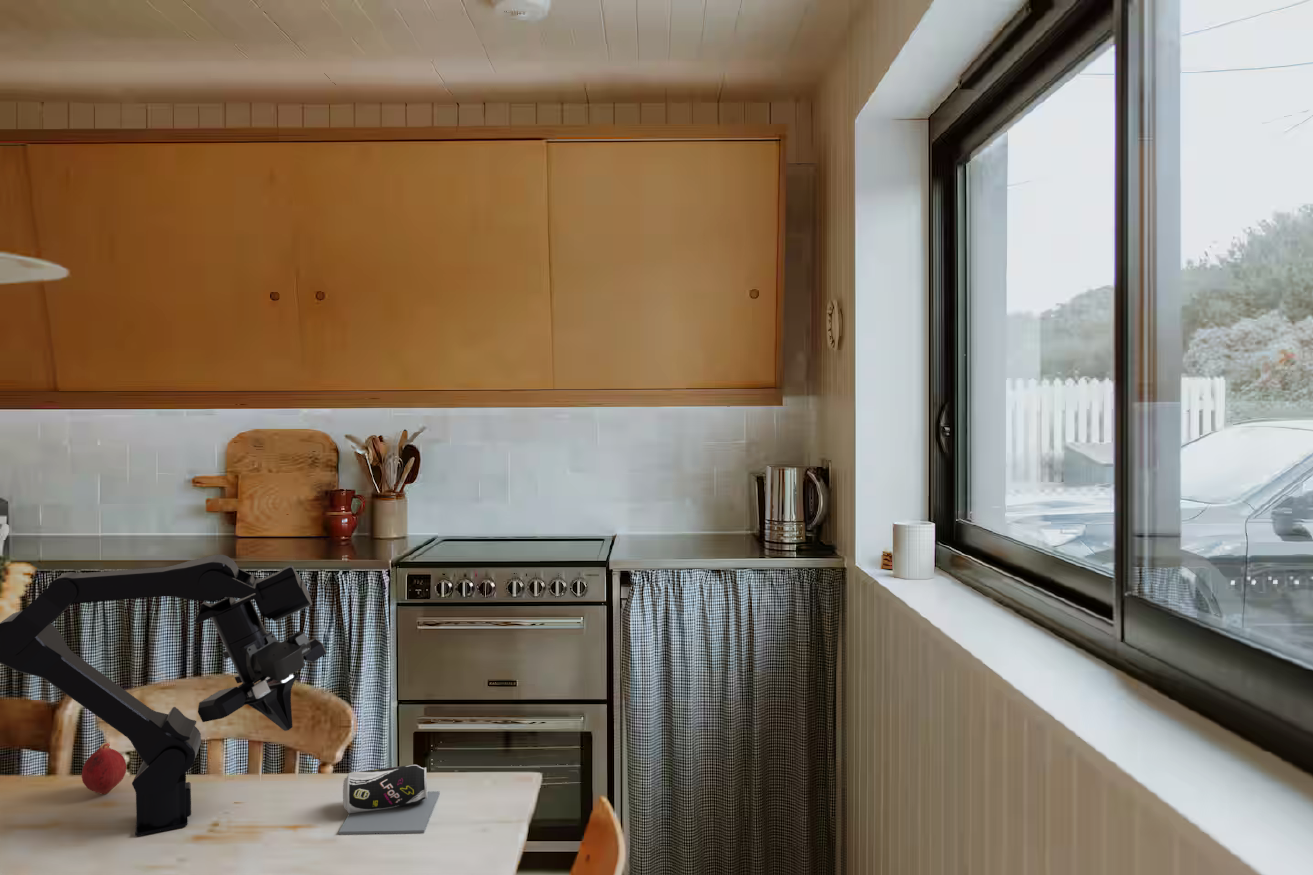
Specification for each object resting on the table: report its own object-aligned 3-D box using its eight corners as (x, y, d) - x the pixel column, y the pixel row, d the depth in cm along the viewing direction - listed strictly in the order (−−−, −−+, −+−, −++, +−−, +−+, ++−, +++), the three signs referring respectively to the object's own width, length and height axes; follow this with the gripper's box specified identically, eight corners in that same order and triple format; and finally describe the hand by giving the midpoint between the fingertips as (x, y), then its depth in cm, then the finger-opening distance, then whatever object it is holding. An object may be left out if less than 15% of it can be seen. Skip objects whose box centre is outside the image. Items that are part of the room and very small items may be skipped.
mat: (338, 834, 124) (338, 831, 124) (361, 794, 136) (361, 792, 136) (424, 832, 124) (424, 830, 124) (439, 793, 136) (439, 791, 136)
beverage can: (341, 778, 127) (426, 767, 130) (345, 769, 133) (426, 759, 136) (342, 819, 127) (427, 807, 130) (346, 808, 132) (428, 797, 135)
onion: (105, 804, 131) (103, 752, 131) (72, 800, 132) (71, 749, 132) (135, 787, 137) (134, 737, 136) (104, 783, 138) (103, 734, 138)
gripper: (218, 659, 116) (267, 762, 118) (326, 598, 132) (368, 690, 134) (175, 670, 122) (222, 768, 124) (283, 611, 138) (324, 698, 139)
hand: (288, 729), depth 130 cm, fingers closed
